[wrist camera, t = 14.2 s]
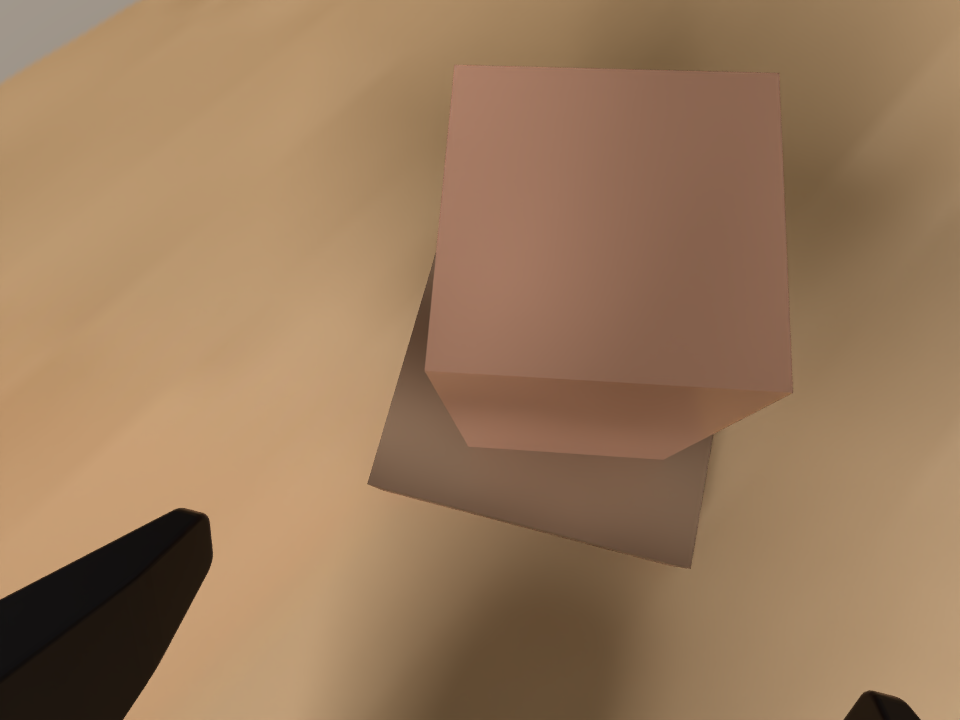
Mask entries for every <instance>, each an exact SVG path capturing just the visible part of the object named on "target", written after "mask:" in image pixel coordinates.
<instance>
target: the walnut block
mask: <svg viewBox="0 0 960 720" xmlns="http://www.w3.org/2000/svg"><path fill="white" fill-rule="evenodd" d="M435 259H436V254H435V257H434V261H433V264H432V267H431V271H430V274H429V277H428V281H427V284H426V288H425V291H424V294H423V298H422V301H421V304H420V308H419V311H418V315H417V318H416V321H415V325H414V328H413V331H412V335H411V338H410V342H409V345H408V348H407V352H406V355H405V359H404V362H403V365H402V369H401V372H400V375H399V379H398V382H397V386H396V389H395V392H394V396H393V399H392V402H391V406H390V409H389V413H388V416H387V419H386V423H385V426H384V429H383V433H382V436H381V440H380V443H379V446H378V450H377V453H376V456H375V460H374V463H373V467H372V470H371V473H370V477H369V480H368V484H369V485H371V486H374V487H376V488H378V489H381V490H383V491H387V492H391V493H395V494H399V495H403V496H406V497H410V498H414V499H418V500H422V501H425V502H429V503H433V504H437V505H441V506H444V507H448V508H452V509H456V510H460V511H464V512H467V513H471V514H475V515H479V516H483V517H486V518H490V519H494V520H498V521H502V522H505V523H509V524H513V525H517V526H521V527H524V528H528V529H532V530H536V531H540V532H544V533H547V534H551V535H555V536H559V537H563V538H566V539H570V540H574V541H578V542H582V543H585V544H589V545H593V546H597V547H601V548H605V549H608V550H612V551H616V552H620V553H624V554H627V555H631V556H635V557H639V558H643V559H646V560H650V561H654V562H658V563H662V564H666V565H669V566H675V567H682V568H690V569H691V563H692V558H693V552H694V546H695V540H696V534H697V528H698V522H699V516H700V510H701V504H702V498H703V492H704V486H705V481H706V475H707V469H708V463H709V457H710V451H711V445H712V439H713V434H712V435H710V436H708V437H707V438H705V439H703V440H701V441H699V442H697V443H695V444H693V445H691V446H689V447H687V448H685V449H683V450H681V451H679V452H678V453H676V454H674V455H672V456H670V457H668V458H666V459H664V460H658V459H644V458H629V457H614V456H599V455H584V454H570V453H555V452H540V451H525V450H511V449H496V448H481V447H468V445H467V443H466V442H465V440H464V438H463V436H462V435H461V433H460V431H459V429H458V428H457V426H456V424H455V423H454V421H453V419H452V417H451V416H450V414H449V412H448V411H447V409H446V407H445V405H444V404H443V402H442V400H441V398H440V397H439V395H438V393H437V392H436V390H435V388H434V386H433V385H432V383H431V381H430V379H429V378H428V376H427V374H426V373H425V361H426V351H427V341H428V330H429V320H430V310H431V300H432V290H433V279H434V269H435Z"/></svg>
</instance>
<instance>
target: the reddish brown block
mask: <svg viewBox="0 0 960 720" xmlns="http://www.w3.org/2000/svg"><path fill="white" fill-rule="evenodd" d="M425 373H426V374H427V376H428V378H429V379H430V381H431V383H432V385H433V386H434V388H435V390H436V392H437V393H438V395H439V397H440V398H441V400H442V402H443V404H444V405H445V407H446V409H447V411H448V412H449V414H450V416H451V417H452V419H453V421H454V423H455V424H456V426H457V428H458V429H459V431H460V433H461V435H462V436H463V438H464V440H465V442H466V443H467V445H468V447H481V448H496V449H511V450H525V451H540V452H555V453H570V454H584V455H599V456H614V457H629V458H644V459H658V460H664V459H666V458H668V457H670V456H672V455H674V454H676V453H678V452H679V451H681V450H683V449H685V448H687V447H689V446H691V445H693V444H695V443H697V442H699V441H701V440H703V439H705V438H707V437H708V436H710V435H712V434H714V433H716V432H718V431H720V430H722V429H724V428H726V427H728V426H730V425H732V424H734V423H736V422H737V421H739V420H741V419H743V418H745V417H747V416H749V415H751V414H753V413H755V412H757V411H759V410H761V409H763V408H765V407H767V406H768V405H770V404H772V403H774V402H776V401H778V400H780V399H782V398H784V397H786V396H788V395H790V394H792V393H793V382H792V358H791V335H790V312H789V289H788V266H787V243H786V220H785V196H784V173H783V150H782V127H781V104H780V81H779V73H758V72H719V71H679V70H640V69H600V68H561V67H521V66H482V65H454V76H453V86H452V96H451V106H450V116H449V127H448V137H447V147H446V157H445V167H444V177H443V188H442V198H441V208H440V218H439V228H438V239H437V249H436V259H435V269H434V279H433V290H432V300H431V310H430V320H429V330H428V341H427V351H426V361H425Z"/></svg>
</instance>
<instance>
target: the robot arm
mask: <svg viewBox="0 0 960 720" xmlns="http://www.w3.org/2000/svg"><path fill="white" fill-rule="evenodd" d="M212 558H213V549H212V539H211V530H210V521H209V518H208V517H207V515H206V514H204V513H201V512H197V511H194V510H190V509H186V508H178V509H175V510H173V511H171V512H169V513H167V514H165V515H163V516H161V517H159V518H157V519H155V520H153V521H151V522H149V523H148V524H146V525H144V526H142V527H140V528H138V529H136V530H134V531H132V532H130V533H128V534H126V535H124V536H122V537H120V538H118V539H117V540H115V541H113V542H111V543H109V544H107V545H105V546H103V547H101V548H99V549H97V550H95V551H93V552H91V553H89V554H88V555H86V556H84V557H82V558H80V559H78V560H76V561H74V562H72V563H70V564H68V565H66V566H64V567H62V568H60V569H58V570H57V571H55V572H53V573H51V574H49V575H47V576H45V577H43V578H41V579H39V580H37V581H35V582H33V583H31V584H29V585H28V586H26V587H24V588H22V589H20V590H18V591H16V592H14V593H12V594H10V595H8V596H6V597H4V598H2V599H0V720H123V719H124V717H125V716H126V714H127V713H128V711H129V710H130V708H131V707H132V705H133V704H134V702H135V701H136V699H137V698H138V696H139V695H140V693H141V692H142V690H143V689H144V687H145V686H146V684H147V683H148V681H149V679H150V678H151V676H152V675H153V673H154V672H155V670H156V668H157V667H158V665H159V663H160V661H161V659H162V658H163V656H164V654H165V652H166V650H167V648H168V647H169V645H170V643H171V641H172V639H173V637H174V635H175V633H176V631H177V630H178V628H179V626H180V624H181V622H182V620H183V618H184V616H185V615H186V613H187V611H188V609H189V607H190V605H191V603H192V601H193V599H194V598H195V596H196V594H197V592H198V590H199V588H200V586H201V584H202V582H203V581H204V579H205V577H206V575H207V573H208V571H209V569H210V566H211V563H212ZM844 720H920V718H919V717H918V716H917V715H916V714H915V712H914V711H913V710H912V709H911V707H910V706H909V705H908V704H907V703H906V702H904V701H903V700H902V699H900V698H898V697H895V696H891V695H887V694H884V693H880V692H876V691H870V690H869V691H867V692H864V693H863V694H862V695H861V696H860V698H859V699H858V700H857V702H856V703H855V705H854V706H853V707H852V709H851V710H850V712H849V713H848V714H847V716H846V717H845V719H844Z"/></svg>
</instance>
